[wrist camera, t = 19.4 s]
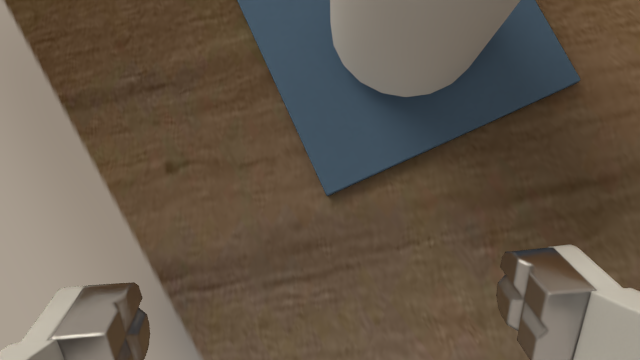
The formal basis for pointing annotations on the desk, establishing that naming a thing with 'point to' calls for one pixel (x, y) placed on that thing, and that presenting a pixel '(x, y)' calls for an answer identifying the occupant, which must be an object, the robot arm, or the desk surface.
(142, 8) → the desk surface
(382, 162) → the mat
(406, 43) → the can
